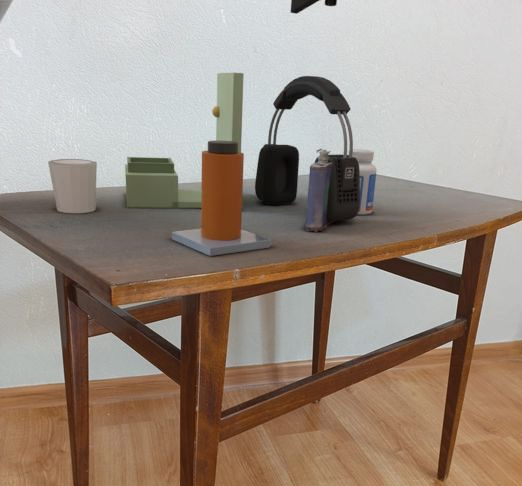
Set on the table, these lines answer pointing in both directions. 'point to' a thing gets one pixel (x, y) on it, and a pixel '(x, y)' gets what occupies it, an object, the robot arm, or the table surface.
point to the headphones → (287, 158)
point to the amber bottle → (222, 191)
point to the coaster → (220, 242)
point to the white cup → (74, 184)
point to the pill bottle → (366, 179)
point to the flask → (318, 193)
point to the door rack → (162, 169)
